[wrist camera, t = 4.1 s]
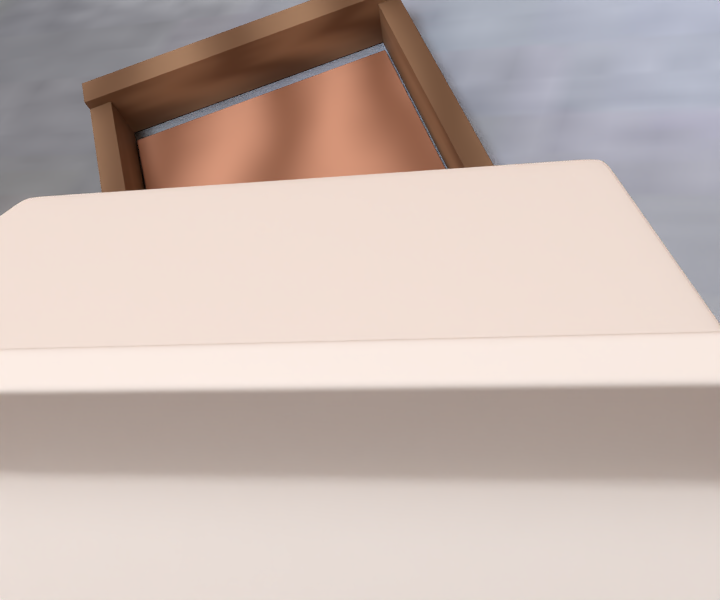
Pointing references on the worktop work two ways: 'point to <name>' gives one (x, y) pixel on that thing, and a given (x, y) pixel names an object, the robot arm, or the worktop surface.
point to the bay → (283, 104)
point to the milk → (356, 393)
